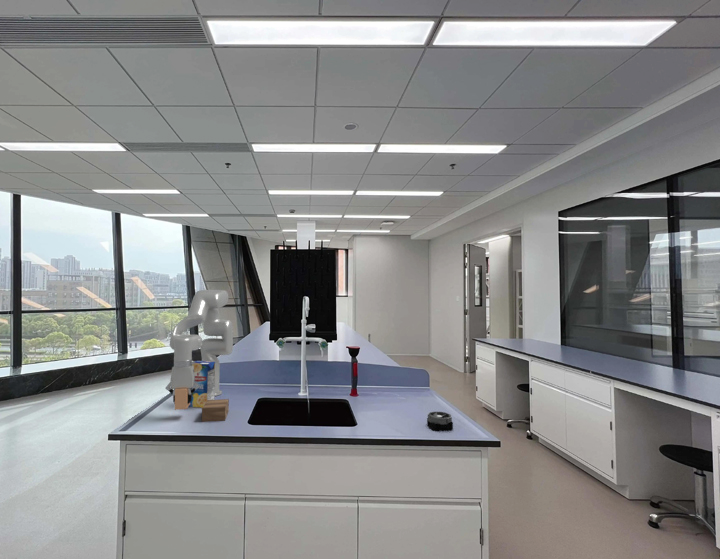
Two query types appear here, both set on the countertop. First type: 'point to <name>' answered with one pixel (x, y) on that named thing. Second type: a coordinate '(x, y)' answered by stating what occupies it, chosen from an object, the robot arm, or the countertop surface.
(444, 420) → the cpu cooler
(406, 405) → the countertop surface
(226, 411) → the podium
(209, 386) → the blue tall cardboard box
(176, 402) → the carton
